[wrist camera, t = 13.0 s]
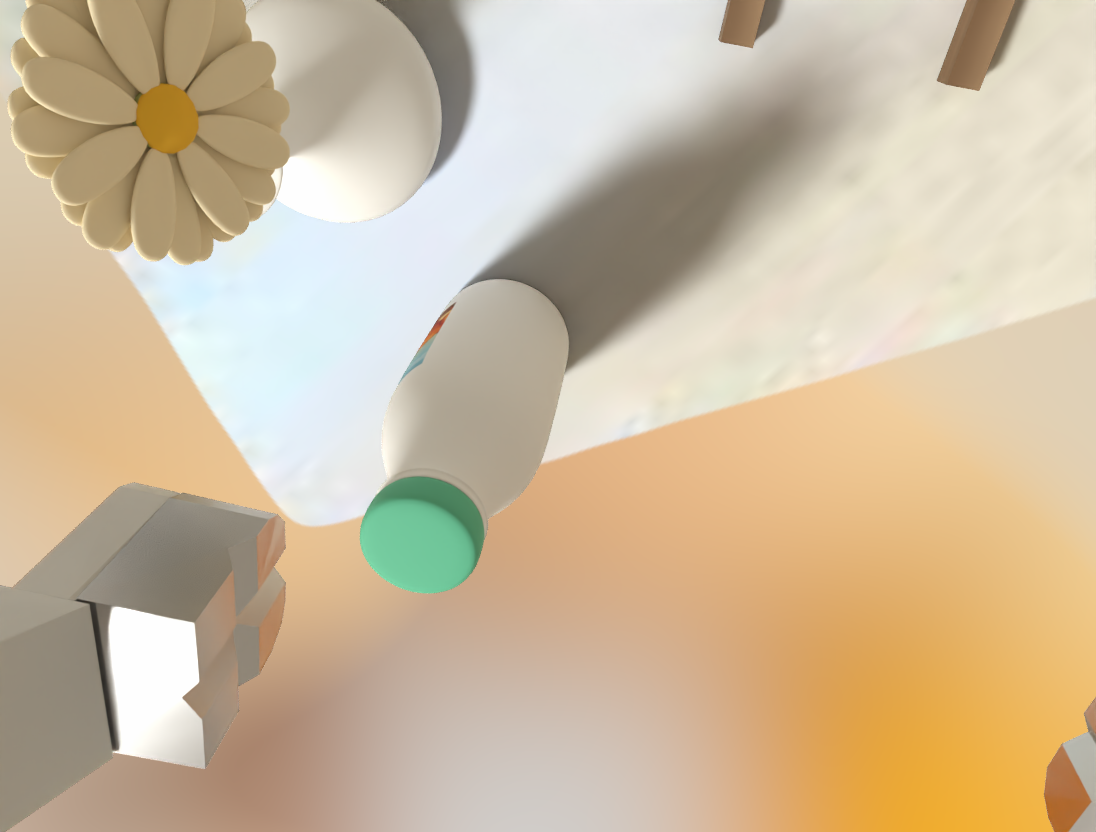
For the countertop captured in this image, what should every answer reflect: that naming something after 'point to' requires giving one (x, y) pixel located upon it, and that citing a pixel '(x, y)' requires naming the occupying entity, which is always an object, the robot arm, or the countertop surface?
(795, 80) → the countertop surface
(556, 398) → the milk bottle
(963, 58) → the beam slot
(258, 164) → the flower in vase
